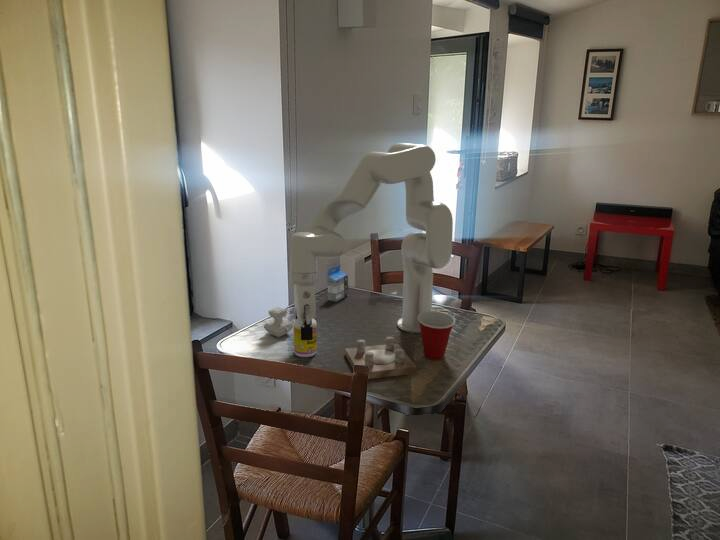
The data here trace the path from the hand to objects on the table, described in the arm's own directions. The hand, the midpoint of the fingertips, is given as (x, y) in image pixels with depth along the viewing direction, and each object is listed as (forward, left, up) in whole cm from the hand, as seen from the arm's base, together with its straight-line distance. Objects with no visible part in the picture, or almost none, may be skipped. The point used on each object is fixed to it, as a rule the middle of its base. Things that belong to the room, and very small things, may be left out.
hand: (303, 333), depth 155 cm
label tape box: (-20, -46, -7) cm, 51 cm away
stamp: (+6, -16, -7) cm, 18 cm away
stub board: (-19, +12, -6) cm, 24 cm away
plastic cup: (-36, +11, -7) cm, 39 cm away
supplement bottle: (0, 0, -7) cm, 7 cm away
